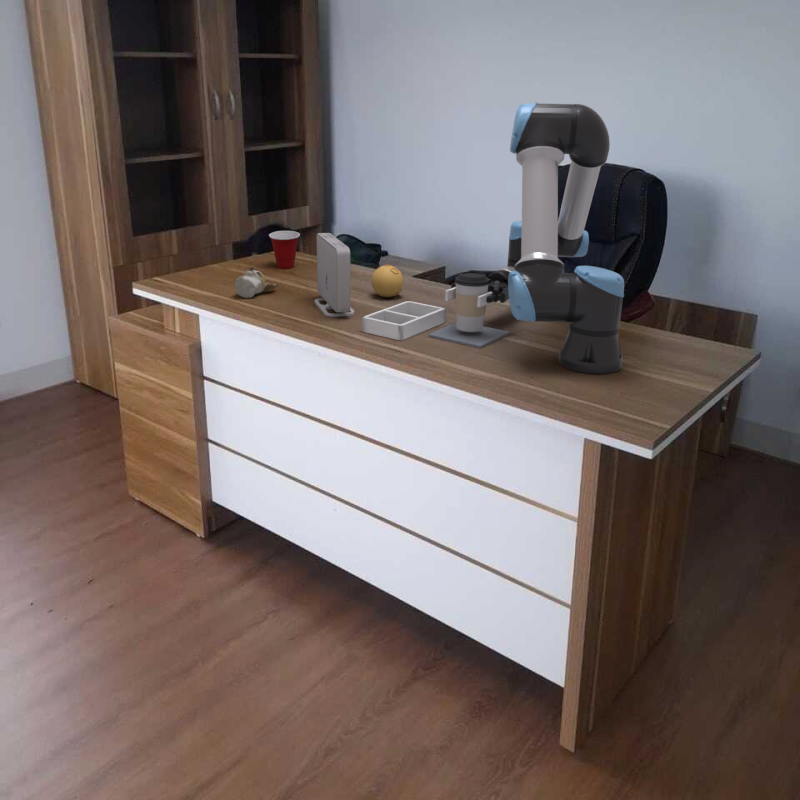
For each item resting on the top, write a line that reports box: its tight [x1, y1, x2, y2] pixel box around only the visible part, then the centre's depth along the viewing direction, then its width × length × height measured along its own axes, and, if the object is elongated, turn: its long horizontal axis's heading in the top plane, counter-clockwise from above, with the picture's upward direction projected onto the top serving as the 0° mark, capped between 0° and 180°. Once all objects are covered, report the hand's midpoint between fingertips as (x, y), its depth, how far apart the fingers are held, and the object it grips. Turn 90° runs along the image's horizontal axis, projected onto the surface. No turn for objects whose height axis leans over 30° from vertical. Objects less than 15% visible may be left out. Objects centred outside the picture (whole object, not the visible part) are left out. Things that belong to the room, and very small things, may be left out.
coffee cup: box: [454, 269, 489, 332], centre depth 217 cm, size 9×9×15 cm
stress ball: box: [371, 264, 404, 298], centre depth 254 cm, size 10×10×10 cm
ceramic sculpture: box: [234, 267, 279, 299], centre depth 254 cm, size 11×9×15 cm
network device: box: [314, 232, 355, 318], centre depth 239 cm, size 26×9×20 cm, turn 18°
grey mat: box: [427, 321, 511, 349], centre depth 220 cm, size 16×16×1 cm
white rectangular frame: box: [361, 300, 447, 341], centre depth 225 cm, size 13×22×4 cm, turn 145°
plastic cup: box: [268, 230, 301, 270], centre depth 289 cm, size 11×11×12 cm
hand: (462, 298), depth 213 cm, fingers closed on coffee cup, 9 cm apart
